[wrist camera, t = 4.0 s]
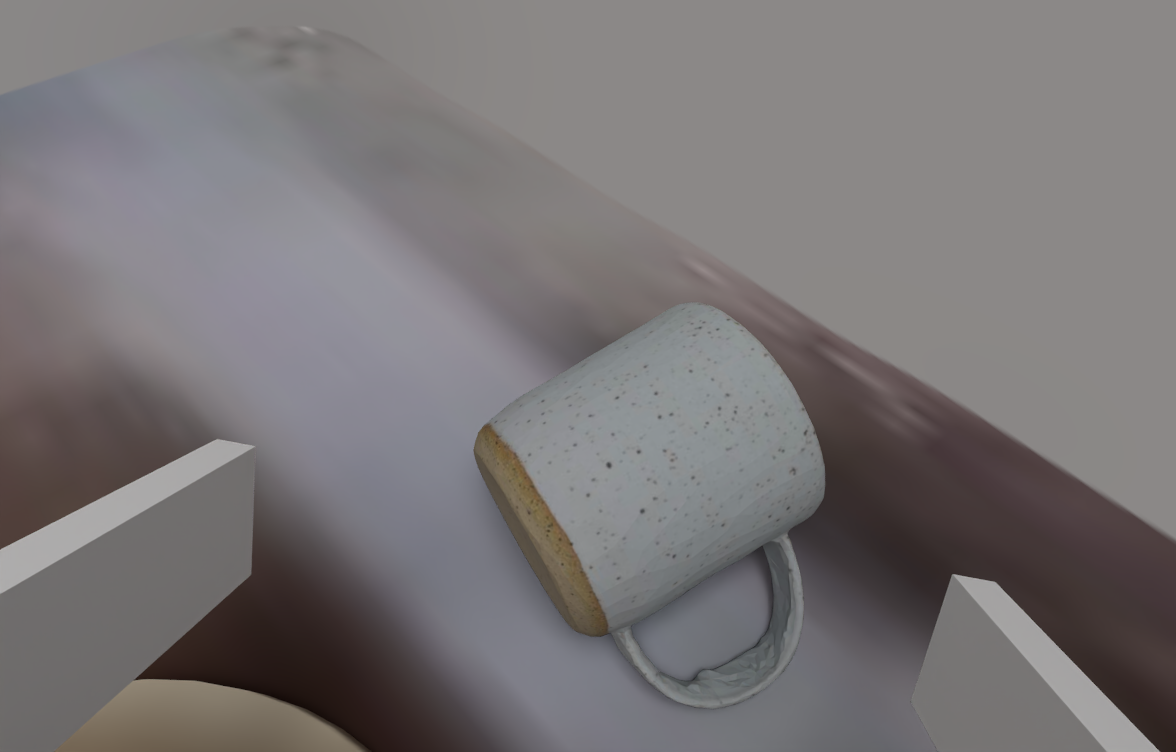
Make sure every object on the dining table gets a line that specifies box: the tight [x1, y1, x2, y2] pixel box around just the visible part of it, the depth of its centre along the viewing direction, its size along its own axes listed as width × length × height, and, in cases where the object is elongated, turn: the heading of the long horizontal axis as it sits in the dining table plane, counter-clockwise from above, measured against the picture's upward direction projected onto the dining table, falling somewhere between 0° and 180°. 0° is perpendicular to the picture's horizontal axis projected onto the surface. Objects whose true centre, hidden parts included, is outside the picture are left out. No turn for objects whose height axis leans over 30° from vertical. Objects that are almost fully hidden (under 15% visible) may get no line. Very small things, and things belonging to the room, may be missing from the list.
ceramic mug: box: [474, 302, 825, 709], centre depth 19 cm, size 11×8×8 cm
